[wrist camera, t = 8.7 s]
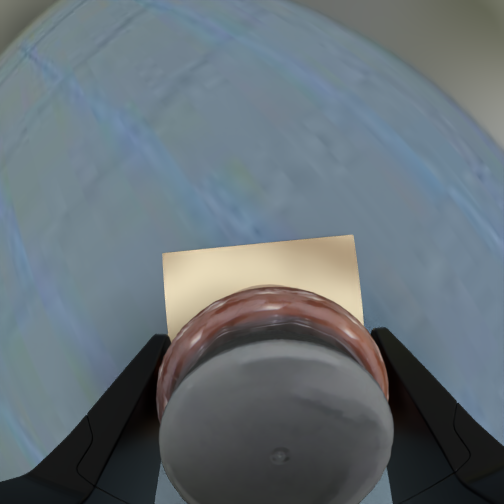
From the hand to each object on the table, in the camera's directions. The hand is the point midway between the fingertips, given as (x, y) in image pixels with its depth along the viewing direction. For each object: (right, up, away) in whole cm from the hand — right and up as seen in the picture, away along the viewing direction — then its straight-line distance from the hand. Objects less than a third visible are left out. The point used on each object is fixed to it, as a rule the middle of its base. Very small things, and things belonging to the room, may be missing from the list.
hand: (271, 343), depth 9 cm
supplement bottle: (0, -2, +7) cm, 7 cm away
